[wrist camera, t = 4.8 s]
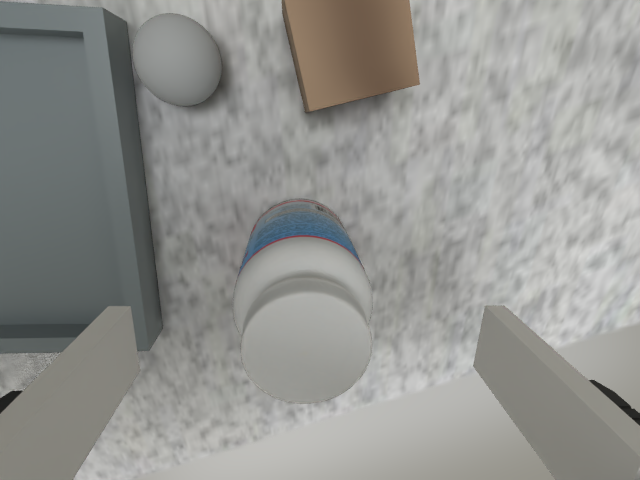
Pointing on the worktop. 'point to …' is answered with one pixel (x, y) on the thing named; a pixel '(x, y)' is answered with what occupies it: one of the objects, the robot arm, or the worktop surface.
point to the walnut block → (350, 49)
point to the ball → (177, 59)
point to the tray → (70, 179)
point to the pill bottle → (302, 305)
